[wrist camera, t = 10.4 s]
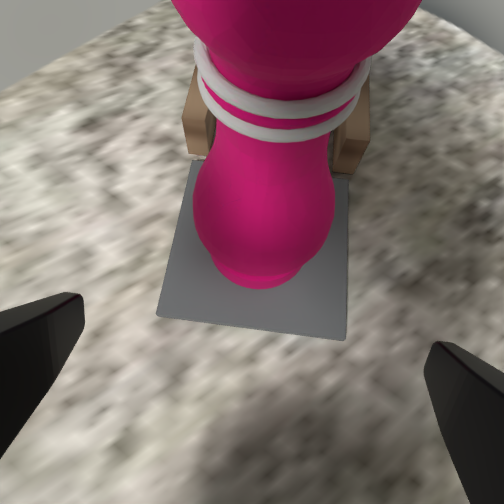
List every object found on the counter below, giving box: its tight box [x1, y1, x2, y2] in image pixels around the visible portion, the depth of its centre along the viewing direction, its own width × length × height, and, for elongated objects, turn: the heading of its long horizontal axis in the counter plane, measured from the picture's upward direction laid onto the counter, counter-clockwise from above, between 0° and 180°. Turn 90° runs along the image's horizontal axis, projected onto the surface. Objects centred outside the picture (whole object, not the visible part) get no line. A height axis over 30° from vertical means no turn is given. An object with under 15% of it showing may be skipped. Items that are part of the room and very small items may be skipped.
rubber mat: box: [156, 160, 349, 341], centre depth 22 cm, size 11×11×1 cm
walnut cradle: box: [182, 65, 370, 174], centre depth 26 cm, size 10×12×4 cm
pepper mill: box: [171, 0, 422, 289], centre depth 13 cm, size 7×7×20 cm
